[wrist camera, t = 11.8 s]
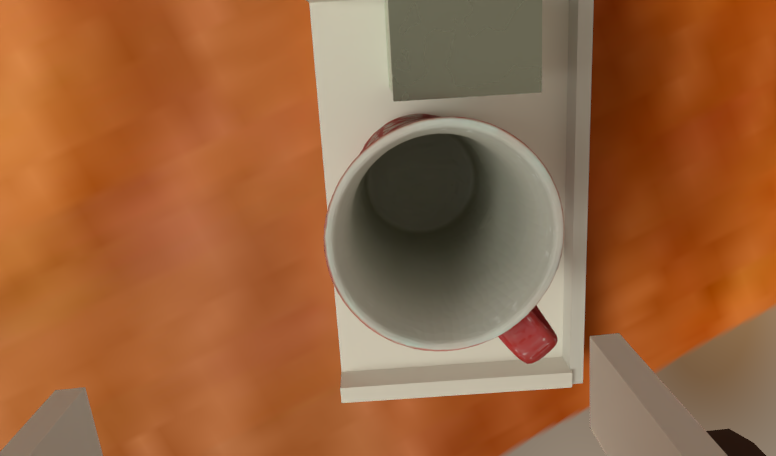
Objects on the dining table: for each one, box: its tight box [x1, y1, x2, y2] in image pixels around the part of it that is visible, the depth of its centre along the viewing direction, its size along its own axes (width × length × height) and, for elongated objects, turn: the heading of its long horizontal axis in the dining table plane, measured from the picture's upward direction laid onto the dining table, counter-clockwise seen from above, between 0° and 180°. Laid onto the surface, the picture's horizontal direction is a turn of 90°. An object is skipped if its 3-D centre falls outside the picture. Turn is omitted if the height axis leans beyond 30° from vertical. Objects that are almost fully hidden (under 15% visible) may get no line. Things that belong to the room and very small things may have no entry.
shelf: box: [307, 0, 594, 403], centre depth 36 cm, size 24×15×4 cm, turn 3°
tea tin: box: [384, 0, 542, 102], centre depth 30 cm, size 5×6×9 cm
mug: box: [324, 114, 564, 364], centre depth 30 cm, size 13×9×14 cm
